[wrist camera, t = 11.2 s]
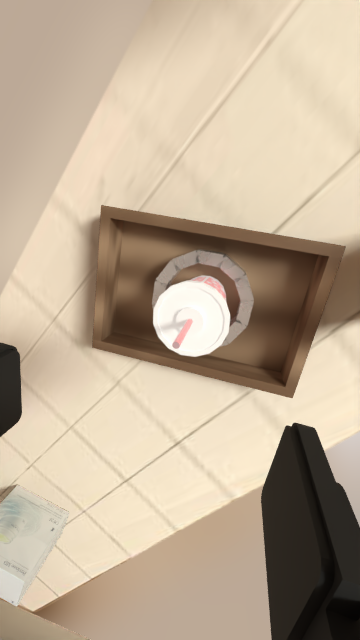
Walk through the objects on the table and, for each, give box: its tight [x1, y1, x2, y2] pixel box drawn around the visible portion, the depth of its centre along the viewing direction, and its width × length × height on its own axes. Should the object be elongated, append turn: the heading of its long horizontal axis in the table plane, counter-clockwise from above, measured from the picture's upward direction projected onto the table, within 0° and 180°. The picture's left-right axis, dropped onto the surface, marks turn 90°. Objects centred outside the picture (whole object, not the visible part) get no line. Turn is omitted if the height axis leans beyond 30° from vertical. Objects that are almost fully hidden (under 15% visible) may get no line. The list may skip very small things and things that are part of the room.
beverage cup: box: [153, 275, 230, 357], centre depth 23 cm, size 6×6×14 cm
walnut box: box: [92, 205, 346, 398], centre depth 28 cm, size 15×22×4 cm
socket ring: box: [152, 249, 254, 347], centre depth 28 cm, size 10×10×2 cm
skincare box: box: [0, 485, 69, 606], centre depth 42 cm, size 10×6×10 cm, turn 68°
